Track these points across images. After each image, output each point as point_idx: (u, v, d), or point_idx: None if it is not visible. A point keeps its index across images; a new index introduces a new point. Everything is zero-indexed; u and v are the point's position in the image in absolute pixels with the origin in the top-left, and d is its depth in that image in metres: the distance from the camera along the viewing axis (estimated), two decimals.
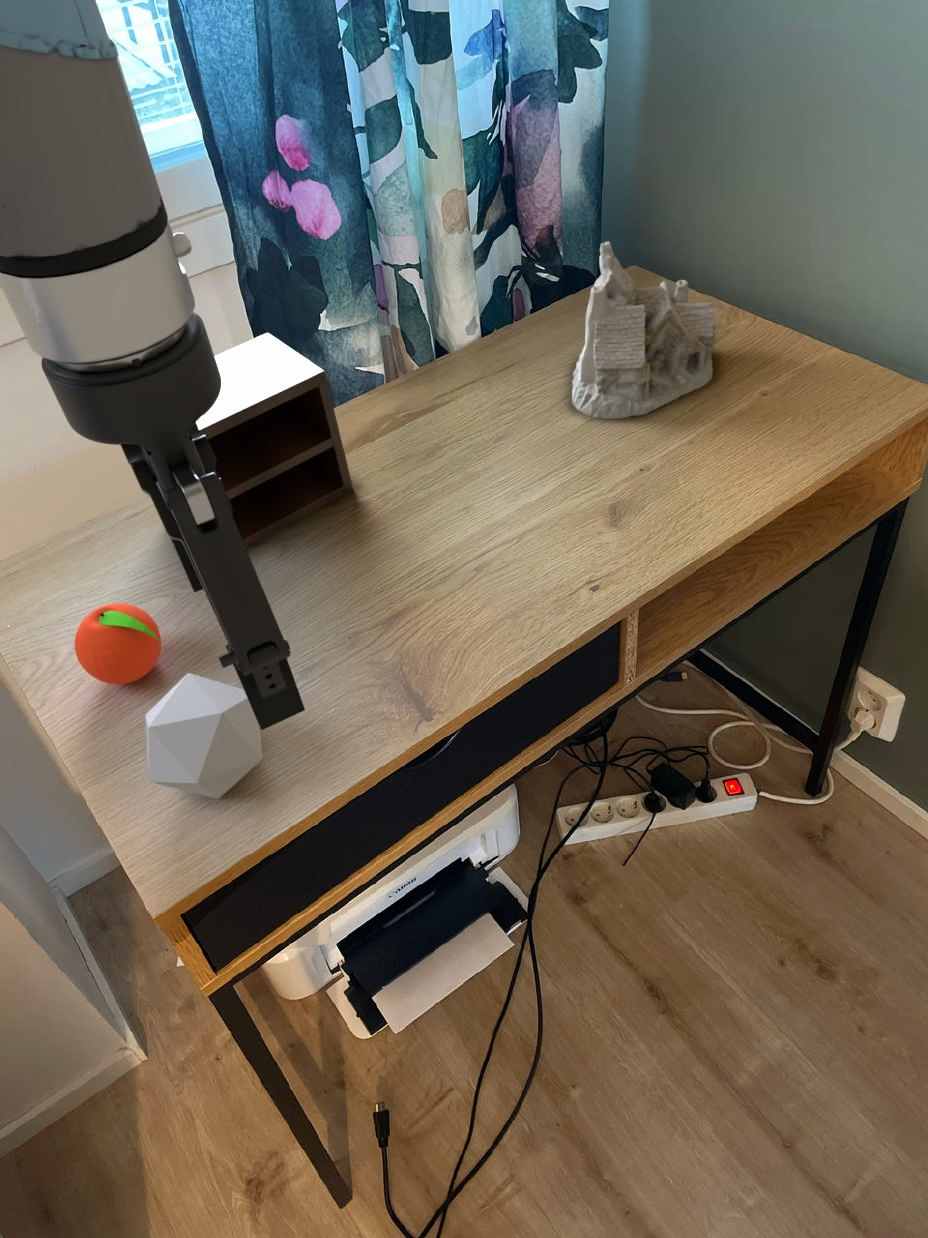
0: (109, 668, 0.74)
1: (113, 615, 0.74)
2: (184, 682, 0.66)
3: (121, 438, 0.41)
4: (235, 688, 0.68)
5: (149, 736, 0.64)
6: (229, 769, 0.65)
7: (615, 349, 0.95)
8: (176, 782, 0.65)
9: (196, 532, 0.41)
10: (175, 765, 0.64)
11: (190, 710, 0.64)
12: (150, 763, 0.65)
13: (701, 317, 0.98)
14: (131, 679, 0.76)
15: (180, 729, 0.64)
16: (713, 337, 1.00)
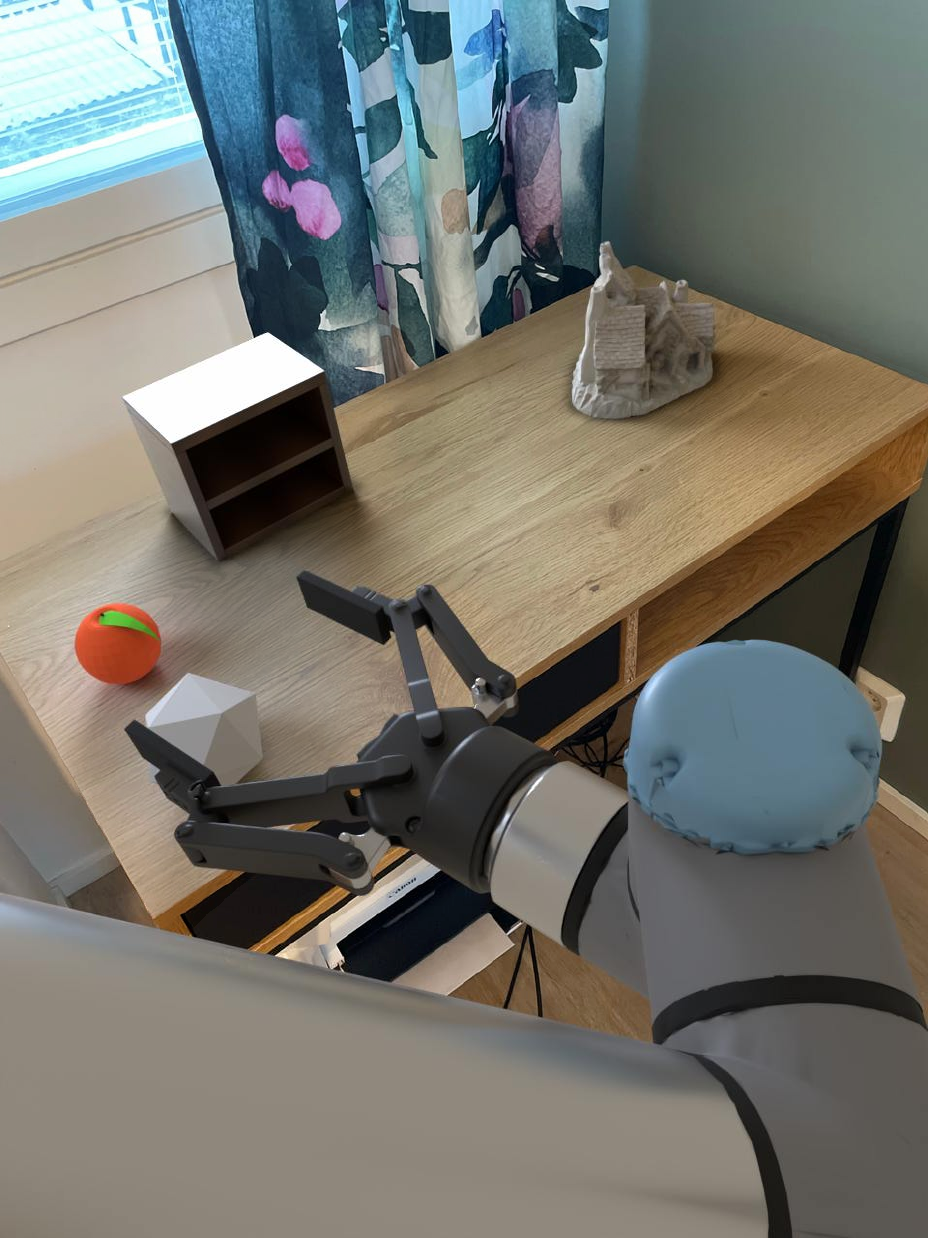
0: (109, 668, 0.74)
1: (113, 615, 0.74)
2: (184, 682, 0.66)
3: (424, 825, 0.41)
4: (235, 688, 0.68)
5: None
6: (229, 769, 0.65)
7: (615, 349, 0.95)
8: None
9: (319, 862, 0.42)
10: None
11: (190, 710, 0.64)
12: (150, 763, 0.65)
13: (701, 317, 0.98)
14: (131, 679, 0.76)
15: (180, 729, 0.64)
16: (713, 337, 1.00)
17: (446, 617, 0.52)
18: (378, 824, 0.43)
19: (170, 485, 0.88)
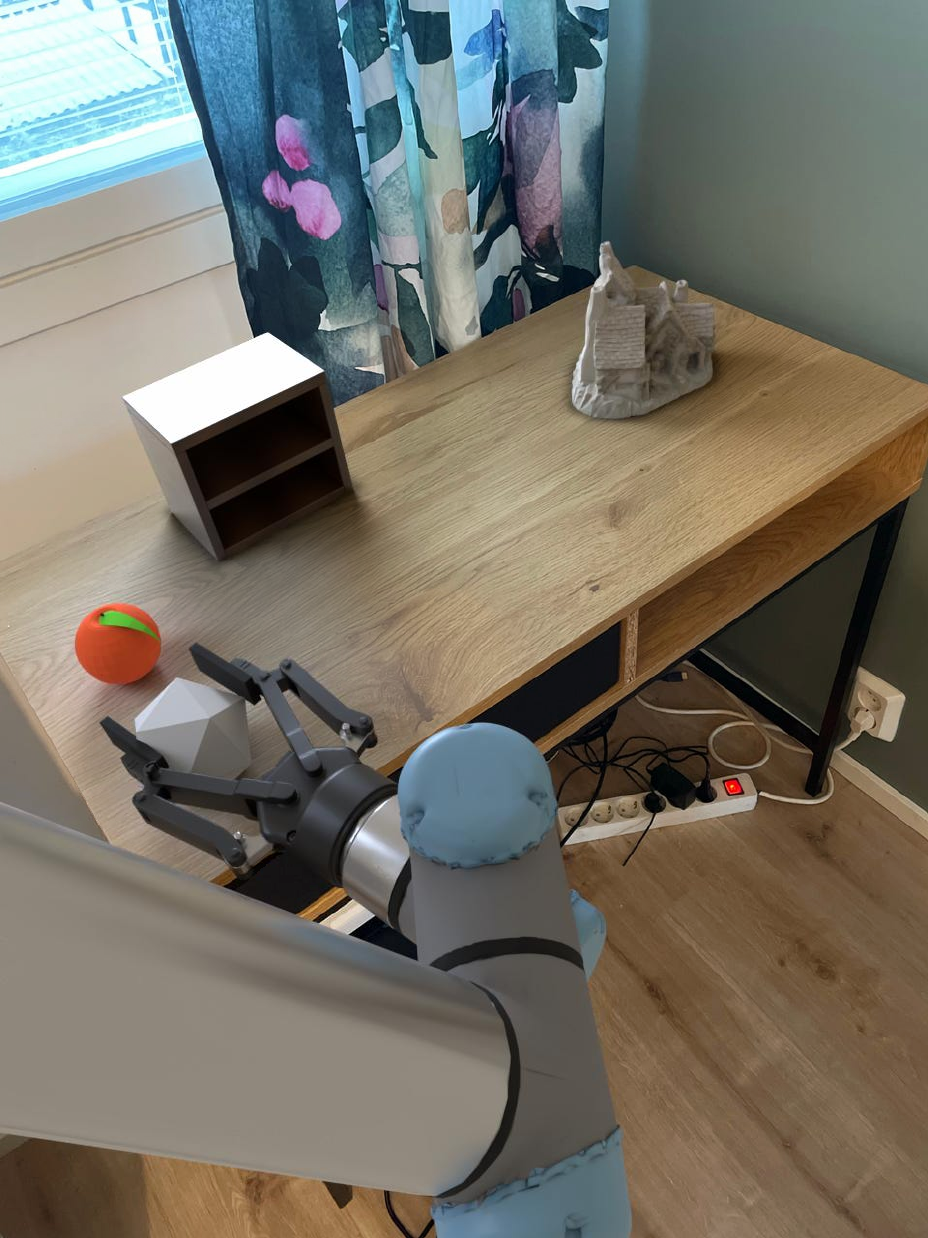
0: (109, 668, 0.74)
1: (113, 615, 0.74)
2: (173, 686, 0.66)
3: (298, 837, 0.56)
4: (224, 692, 0.68)
5: None
6: (217, 774, 0.65)
7: (615, 349, 0.95)
8: None
9: (216, 848, 0.58)
10: None
11: (178, 714, 0.64)
12: None
13: (701, 317, 0.98)
14: (131, 679, 0.76)
15: (168, 734, 0.64)
16: (713, 337, 1.00)
17: (308, 681, 0.66)
18: (264, 833, 0.58)
19: (170, 485, 0.88)
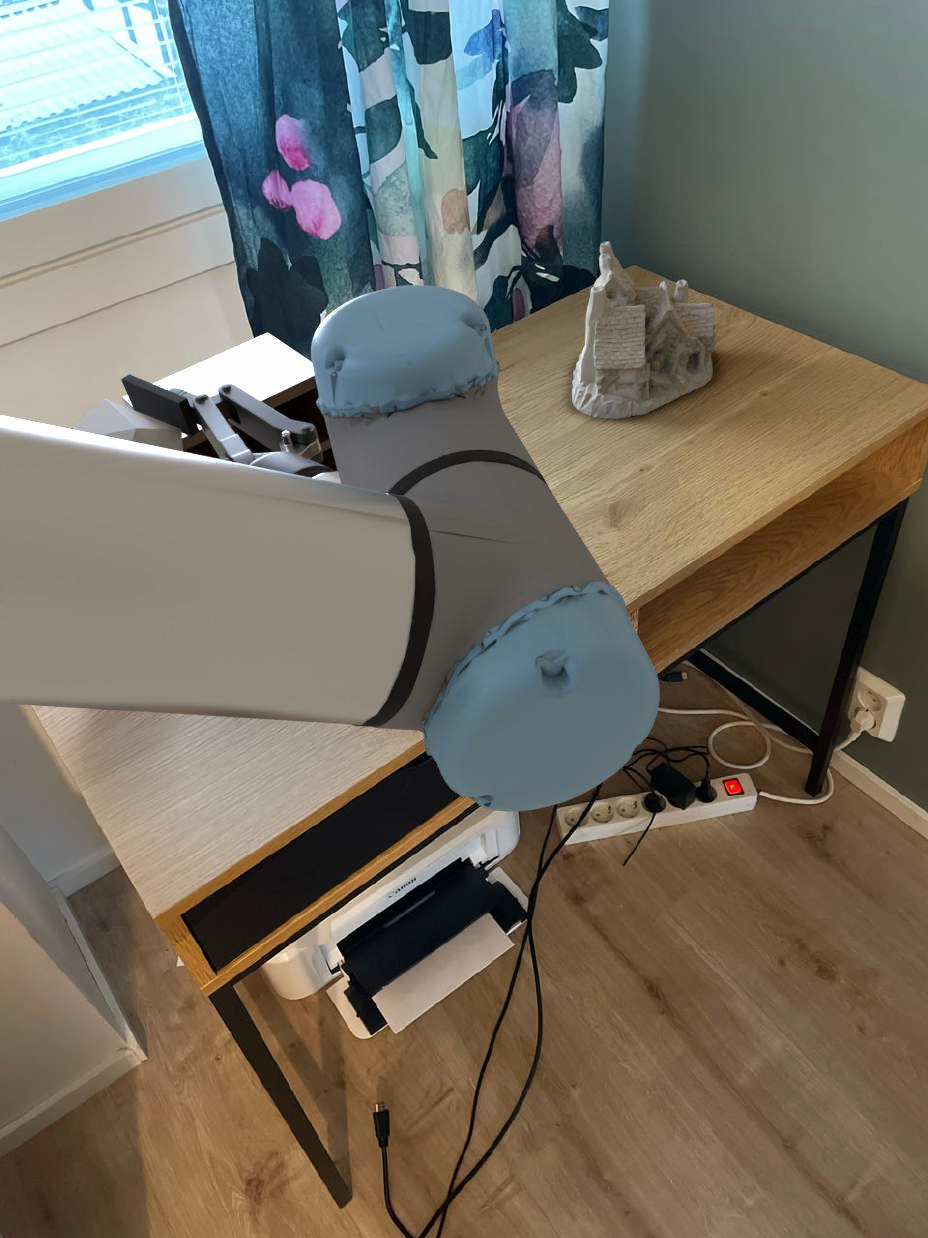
0: None
1: None
2: (99, 405, 0.60)
3: None
4: (158, 420, 0.62)
5: None
6: None
7: (615, 349, 0.95)
8: None
9: None
10: None
11: (102, 427, 0.58)
12: None
13: (701, 317, 0.98)
14: None
15: None
16: (713, 337, 1.00)
17: (247, 400, 0.60)
18: None
19: None
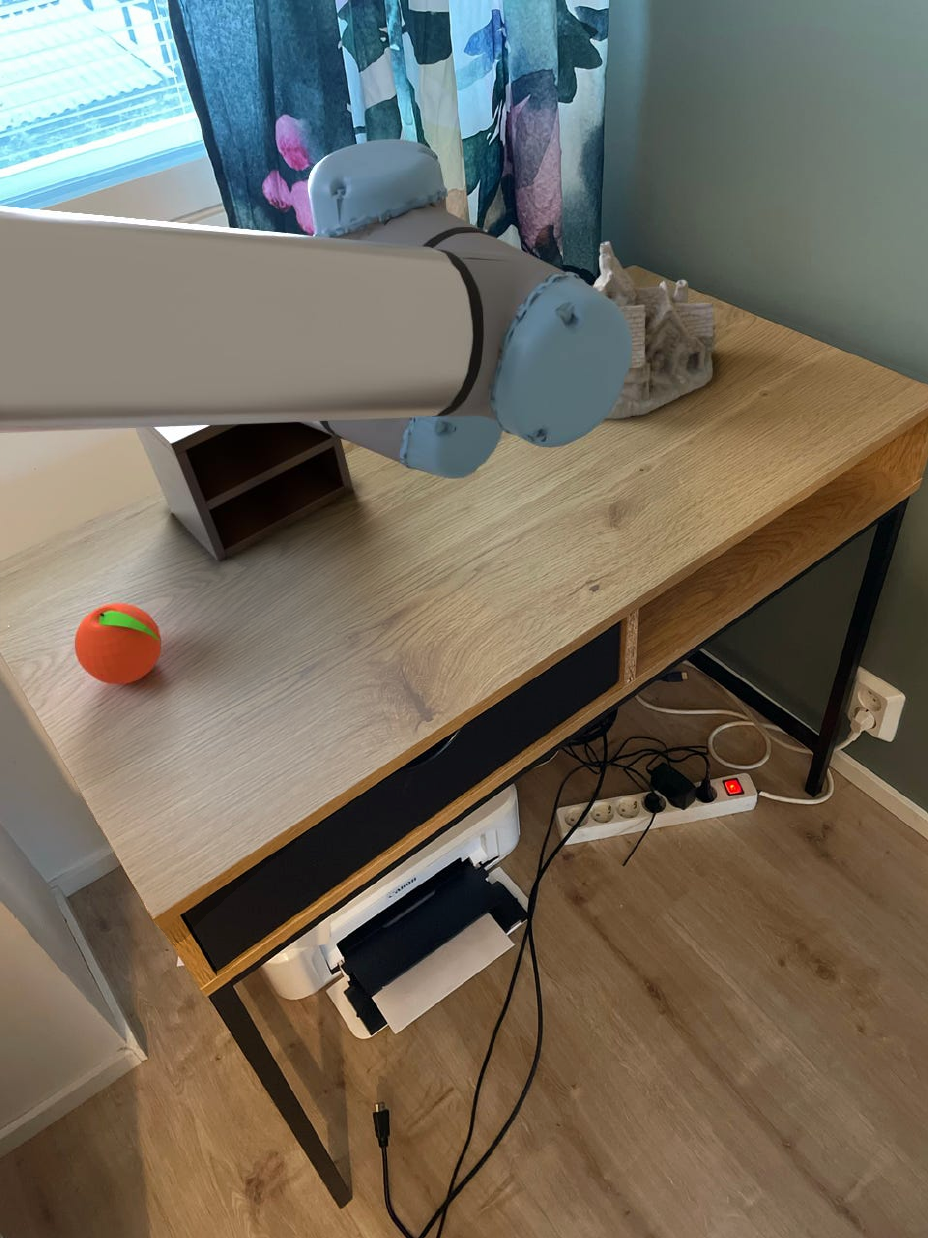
0: (109, 668, 0.74)
1: (113, 615, 0.74)
2: None
3: None
4: None
5: None
6: None
7: None
8: None
9: None
10: None
11: None
12: None
13: (701, 317, 0.98)
14: (131, 679, 0.76)
15: None
16: (713, 337, 1.00)
17: None
18: None
19: (170, 485, 0.88)
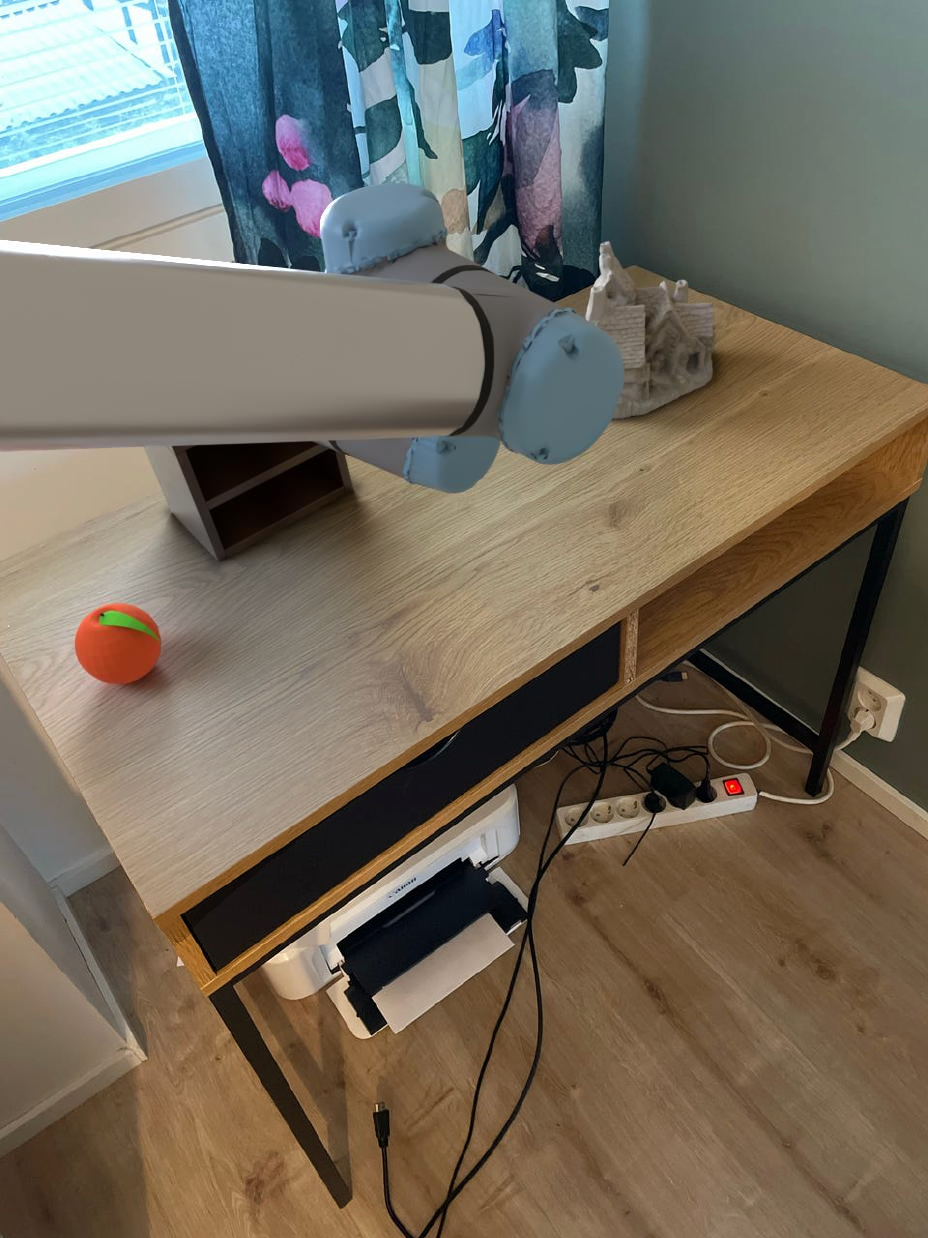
0: (109, 668, 0.74)
1: (113, 615, 0.74)
2: None
3: None
4: None
5: None
6: None
7: None
8: None
9: None
10: None
11: None
12: None
13: (701, 317, 0.98)
14: (131, 679, 0.76)
15: None
16: (713, 337, 1.00)
17: None
18: None
19: (170, 485, 0.88)
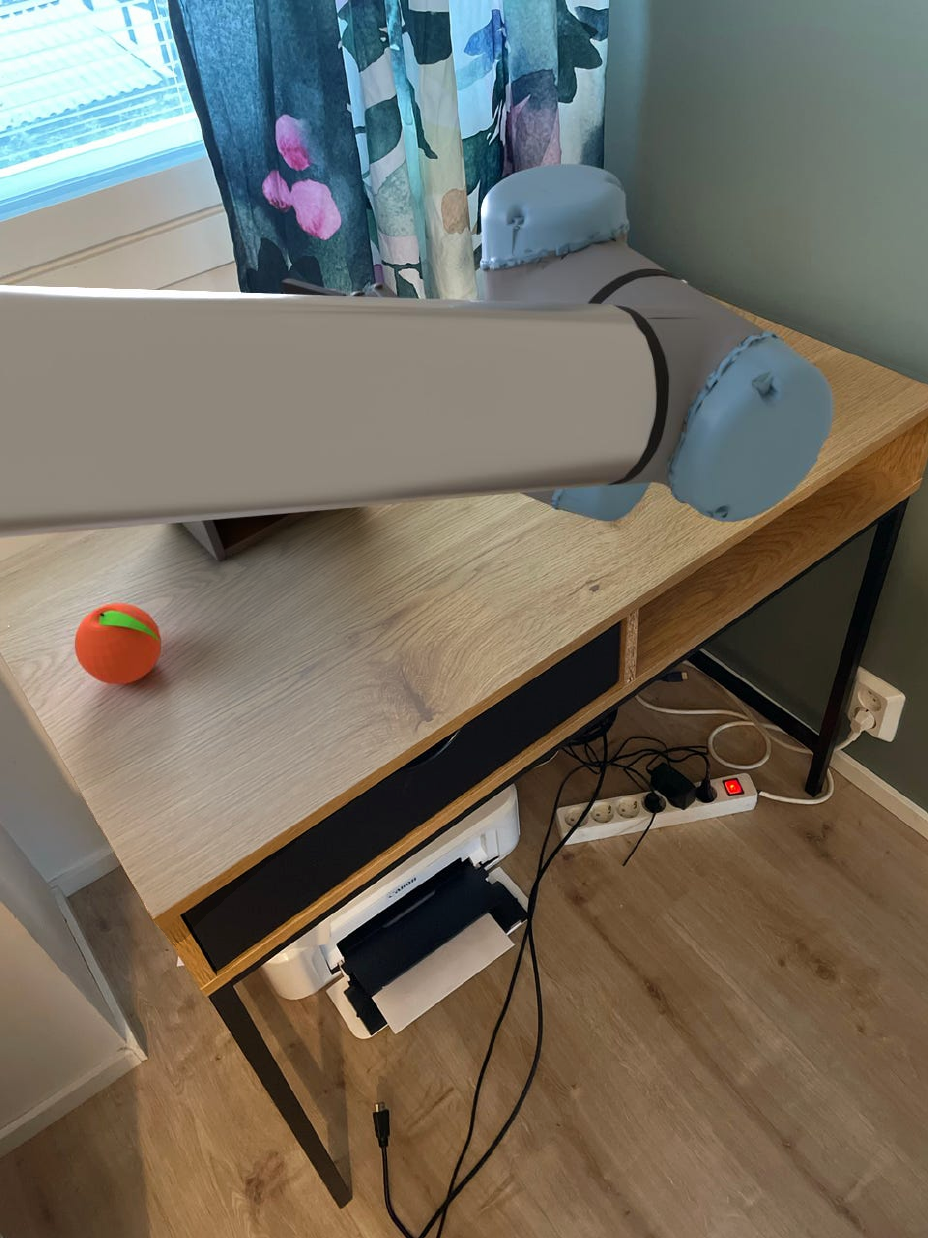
0: (109, 668, 0.74)
1: (113, 615, 0.74)
2: None
3: None
4: None
5: None
6: None
7: None
8: None
9: None
10: None
11: None
12: None
13: None
14: (131, 679, 0.76)
15: None
16: None
17: (392, 298, 0.69)
18: None
19: None
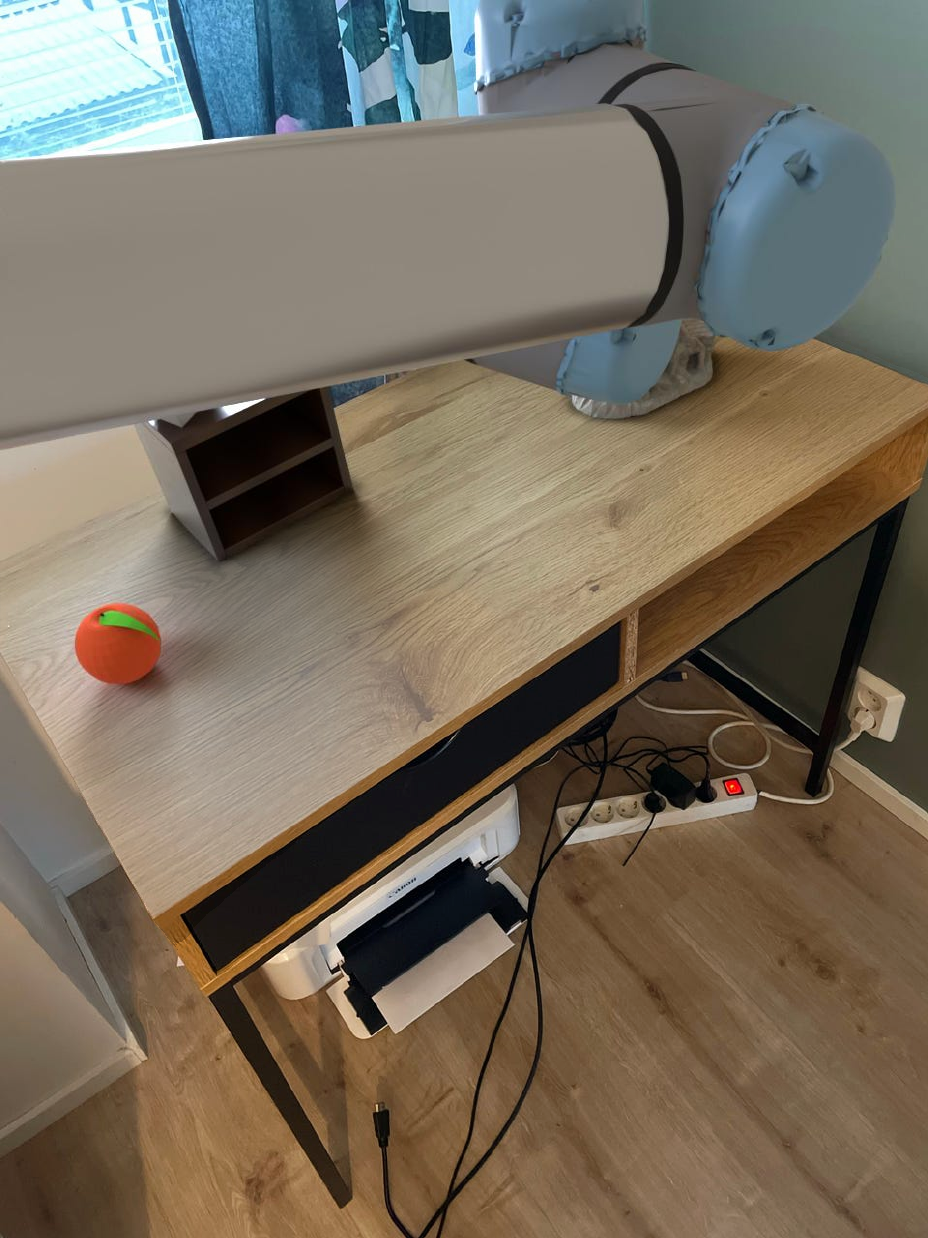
0: (109, 668, 0.74)
1: (113, 615, 0.74)
2: None
3: None
4: None
5: None
6: None
7: None
8: None
9: None
10: None
11: None
12: None
13: None
14: (131, 679, 0.76)
15: None
16: (713, 337, 1.00)
17: None
18: None
19: (170, 485, 0.88)
